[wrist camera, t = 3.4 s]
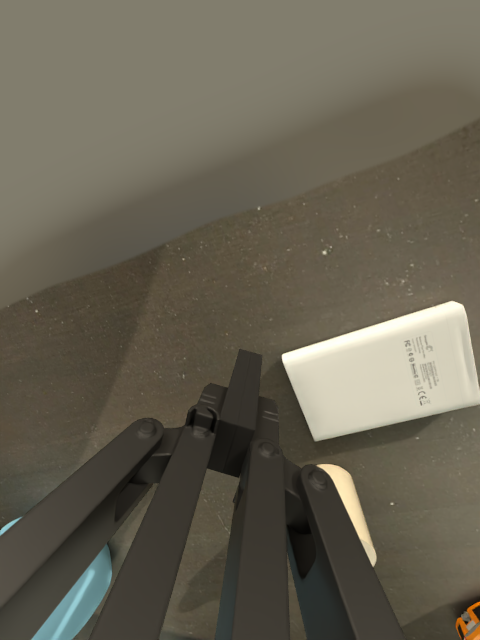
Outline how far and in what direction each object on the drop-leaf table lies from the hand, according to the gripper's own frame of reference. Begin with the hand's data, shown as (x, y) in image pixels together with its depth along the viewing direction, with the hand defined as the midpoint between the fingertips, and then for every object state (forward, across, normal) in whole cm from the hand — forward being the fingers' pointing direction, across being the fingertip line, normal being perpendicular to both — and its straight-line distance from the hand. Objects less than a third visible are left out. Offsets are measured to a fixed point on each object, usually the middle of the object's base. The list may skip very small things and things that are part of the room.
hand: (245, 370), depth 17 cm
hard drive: (+5, +10, 0) cm, 11 cm away
